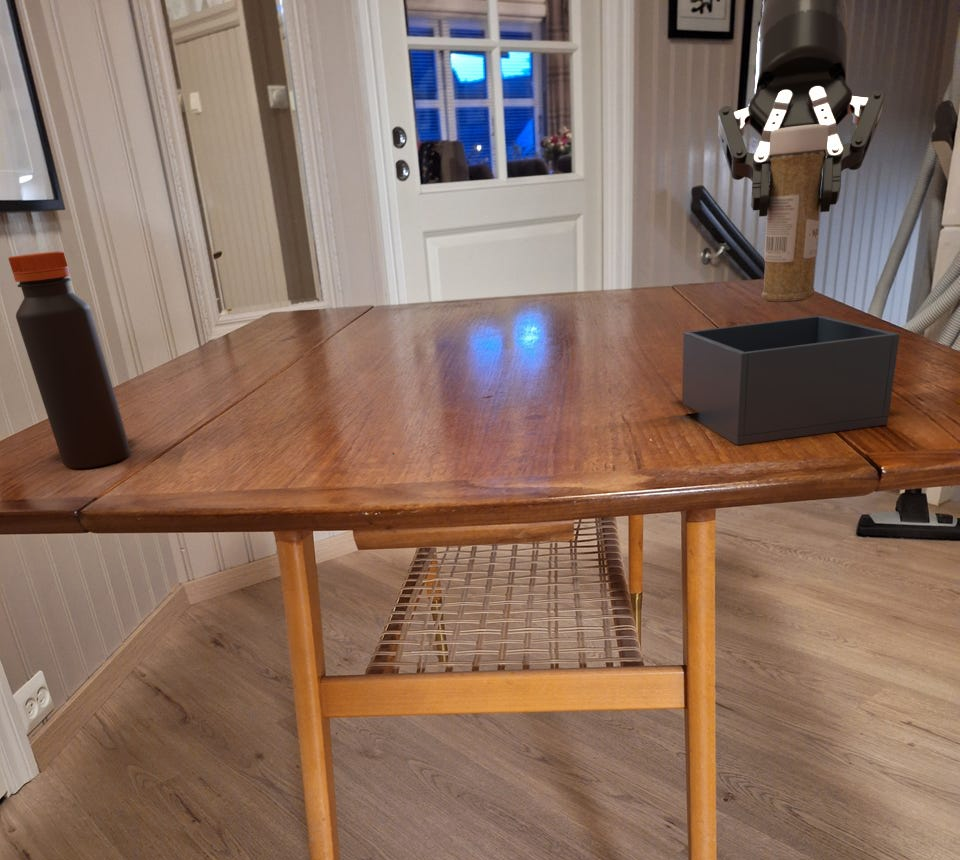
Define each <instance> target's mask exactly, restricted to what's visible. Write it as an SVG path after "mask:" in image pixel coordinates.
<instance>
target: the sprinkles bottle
mask: <svg viewBox="0 0 960 860" xmlns="http://www.w3.org/2000/svg"><path fill="white" fill-rule="evenodd" d="M827 144H828V125H826V124H822V125H820V124H813V125H802V126H794V127H786V128H780V129H776V130H773V131H772V132H771V136H770V148H769V154H770V155H771V156H772V158H770V161H771V169H770V181H769V200H768V213H767V216H766V219H765V239H764V257H763V258H764V259H763V261H764V270H763V271H764V273H763V274H764V275H763V290H762V292H761V299H762V300H763V301H766V302H769V303H795V302H796V303H797V302H802V301H805V300H808V299H811V298H813V297H814V294H815V288H814V283H815V282H814V281H815V270H816V260H817V259H816V258H817V254H818V240H819V227H820V215H821V212H820V202H821V182H822V170H823V160H824V159H823V158H824V155H825V153H824V150H826V149H827Z"/></svg>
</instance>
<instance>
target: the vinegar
mask: <svg viewBox="0 0 960 860" xmlns="http://www.w3.org/2000/svg"><path fill="white" fill-rule="evenodd" d="M65 255H66V254H65V252H64V251H63V250H59V251H58V250H57V251H48V252H47V251H46V252H37V253H28V254H20V255H13V256H9V257H8V258H7V259H8V263H9V265H10V269H11V271H12V275H13V278H14V281H15V282H16V283H18V284H17V287H18V288H21V291H22V295H23V300H22V301H21V303H20V305H19V307H18V309H17V311H16V313H15V319H16V322H17V326H18V329H19V331H20V335H21V338H22V341H23V344H24V347H25V350H26V353H27V356H28V359H29V362H30V365H31V369H32V371H33V374H34V378H35V381H36V384H37V388H38V390H39V394H40V397H41V400H42V403H43V406H44V410H45V412H46V416H47V418H48V419H47V420H48V422H49V425H50V428H51V431H52V435H53V438H54V441H55V443H56V447H57V451H58V453H59V456H60V459H61V462H62V464H63V465H64V467H66V468H68V469H74V470H83V469H84V468H85V469H94V468H100V467H104V465H105V466H108V465H112V464H115V463H118V462H121V461H122V460H125V459H127V458H128V457H129V456H130V454H131V448H130V447H131V446H130V444H129V440H128V436H127V433H126V429H125V426H124V422H123V419H122V415H121V411H120V409H119V404H118V401H117V398H116V394H115V390H114V387H113V383H112V379H111V376H110V373H109V370H108V366H107V362H106V358H105V355H104V352H103V349H102V344H101V341H100V337H99V334H98V331H97V327H96V324H95V320H94V316H93V313H92V309H91V307H90V305H89V303H87V302H86V301H85V300H83V299H82V298H81V297H80V296H78V295H76V293H74V292H73V291H72V288H71V285H70V282H71V281H72V279H71V278H69V277H70V276H71V272H70V269H69V266H68V262H67V258H66V256H65Z"/></svg>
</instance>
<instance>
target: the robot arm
mask: <svg viewBox="0 0 960 860" xmlns="http://www.w3.org/2000/svg"><path fill="white" fill-rule="evenodd" d="M761 12H762V13H761V18H760V21H759V22H760V23H759V27H758V34H757V48H756V52H755V57H756V63H755V64H756V65H755V66H756V67H755V85H754V94H753V97H752V98H751V100H750V101H749V103H748V105H747V107H743V108H741V109H738V110H736V111H734V110H733V107H732V106H729V105H725V106H722V107H721V108H720V109H719V110H718V131H717V133H718V139H719V142H720V145H721V148H722V150H723V151H722V152H723V154H724V158H725V160H726V163H727V166H728V170H729V172H730V175H731V177H732V179H734V180H736V181H740V180H743V179H744V178H747V179H749V180H750V181H751V196H750V197H751V199H750V208H751V209H752V211H758V217H760V218H761V217H767V213H768V200H769V185H770V169H771V161H770V158H772V156H771V155H770V154H769V148H770V136H771V132H772V131H773V130H776V129H780V128H786V127H794V126H802V125H813V124H820V125H822V124H826V125H828V144H827V149H826V150H824V153H825V155H824V158H823V159H824V160H823V170H822V182H821V195H820V198H821V202H820V213H828V212H830V209H831V206H832V205H837V203H838V201H839V200H840V193H841V189H842V172H843V171H844V170H846V169H848V170H851V171H856V170H858V169H860V168H861V167H862V165H863V163H864V160H865V158H866V156H867V153H868V150H869V147H870V145H871V142H872V140H873V138H874V135H875V133H876V132H877V131H876V130H877V128H878V125H879V123H880V120H881V115H882V111H883V108H884V102H885V97H886V93H885V91H884V90H882V89H874V90H872V91H871V92H870V93H869V96H868V97H867V96H858V95H853V91H852V89H851V88H850V87H849V86H848V84H847V61H848V59H847V57H848V55H847V54H848V10H847V3H846V0H762V11H761ZM848 114H849V115H851V116H852V123H853V125H855V130H854V131H853V132H854V133H853V134H852V137H851V140H850V142H847V143H844V144H842V141H841V139H840V135H839V133H838V126H839V125H840V124H841V122H843V120H844V119H845V118H846V117H847V116H848ZM748 125H750V127H751V128H752V129H754V131H755V132H756V133H757V134H758V135H759V136H760V141H759V143H758V145H757V147H756V150H755V152H754V153H752V152H748V149H747V147H746V143H745V141H744V138H743V136H744V134H745V130H746V129H745V128H746V127H747V126H748Z"/></svg>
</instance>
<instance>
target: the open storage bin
mask: <svg viewBox="0 0 960 860" xmlns="http://www.w3.org/2000/svg"><path fill="white" fill-rule="evenodd" d="M682 342H683V343H682V345H683V346H682V349H683V350H682V385H681V386H682V391H681V403H682V404H683V405H685V406H686V407H688V408H690V409H692V410H693V411H696V412H690V413H685V415H686V416H687V417H689V418H691V419H692V420H694V421H696V422H697V423H699V424H701V425H702V426H704V427H705V428H707V429H709V430H710V431H713V432H714V433H716V434H717V435H719V436H721V437H722V438H724V439H726V440H728V441H729V442H731V443H733V444H734V445H736V446H742V445H750V444H757V443H764V442H770V441H771V442H772V441H779V440H785V439H786V440H787V439H793V438H800V437H808V436H815V435H823V434H829V433H838V432H844V431H852V430H853V431H854V430H860V429H867V428H873V427H880V426H881V425H882V426H887V425H888V424H889V423H888V422H889V416H890V408H891V401H892V400H891V399H892V395H893V387H894V379H895V372H896V364H897V359H898V358H897V357H898V350H899V349H898V348H899V342H900V333H897V332H893V331H888V330H884V329H880V328H874V327H871V326H868V325H867V326H866V325H863V324H858V323H855V322H851V321H846V320H843V319H837V318H833V317H830V316H824V315H813V316H805V317H797V318H789V319H781V320H772V321H771V320H770V321H762V322H755V323H748V324H747V323H746V324H739V325H732V326H730V325H729V326H722V327H713V328H706V329H705V328H704V329H699V330H690V331H684V332H683V341H682ZM882 426H881V427H882Z"/></svg>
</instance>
